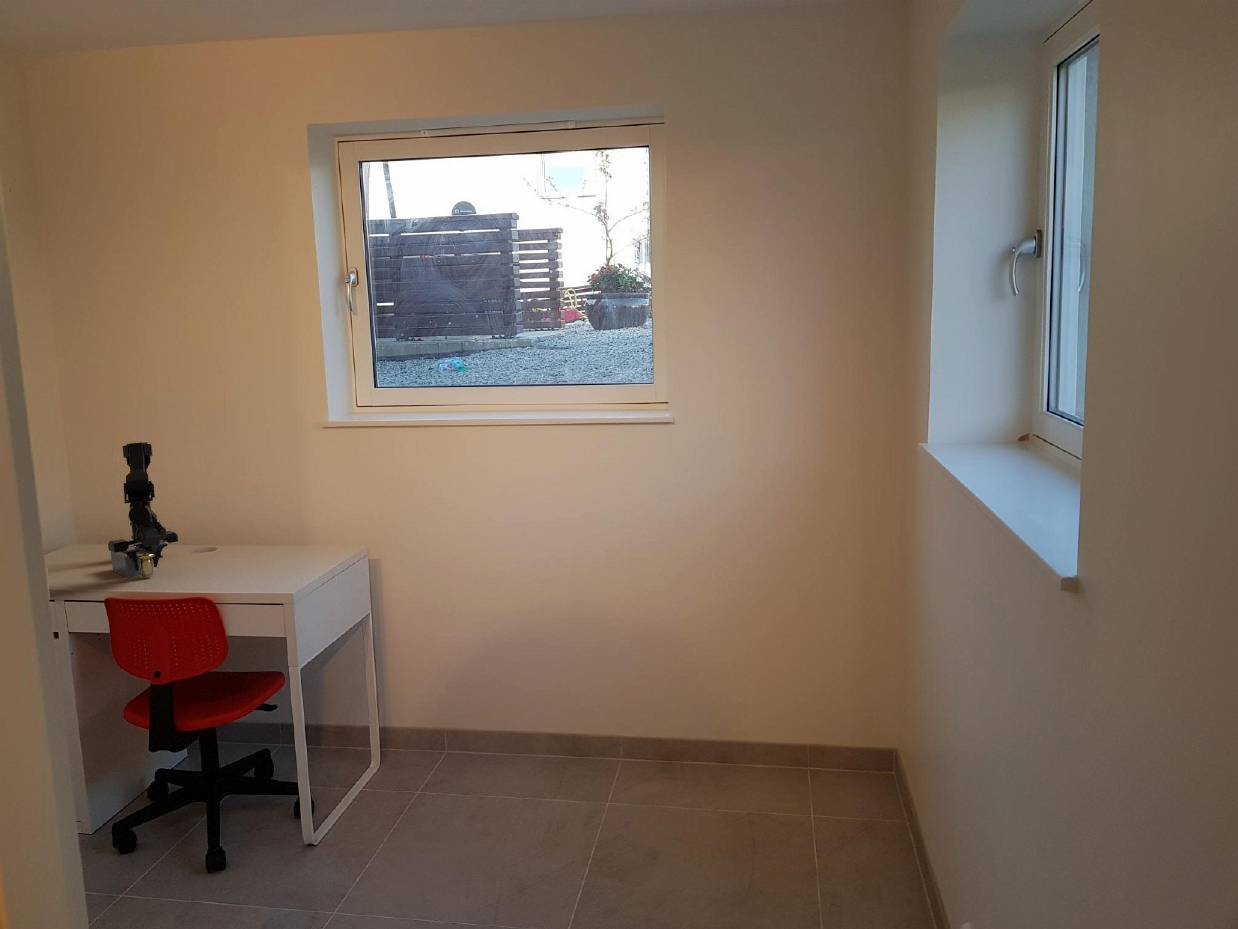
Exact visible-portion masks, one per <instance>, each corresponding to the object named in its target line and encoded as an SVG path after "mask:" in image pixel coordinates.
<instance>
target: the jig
mask: <svg viewBox="0 0 1238 929" xmlns="http://www.w3.org/2000/svg"><path fill="white" fill-rule="evenodd" d="M134 549H135V550H137V554H138V553H142V552H150V551H147V550H145V549H142V548H139V547H136V546H134ZM110 558H111V566H112V572H114V573H116V574H118V575H120V576H122V577H124V578H130V577H136V576H141V567H140V559H137V560H138V565H139V571H136V569H135V567H134V565H133V564H132V562H131V560H130V558H129V557H128V556H127V554H126V553H124V552H117V553H114V552H112V551H110ZM151 560H152V561H153V559H152V557H151ZM152 570H153V571H154V564H153V562H152Z"/></svg>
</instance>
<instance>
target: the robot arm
mask: <svg viewBox="0 0 1238 929" xmlns="http://www.w3.org/2000/svg"><path fill="white" fill-rule="evenodd" d="M122 454H123V458H124V459H125V460H126V465H127V466H128V467H129V473H127V474H126V475H125V482H123V497H124V498H123V499H124V504H129V511H128V516H127V517H128V519H129V521H130V522H129V525H130V526H131V534H132V535H130V536H131V539H130V540H125V539H122V538H119V539H115V540H113V539H112V540H110V541H109V542H108V545H107V546H108V547H107V548H108V551H109V552H111V551H112V552H114V553H117V552H124V553H126V554H127V556H128V557H129V558H130V560H131V562H132V564H133V565H134V567H135V569H136V571H139V565H138V560H137V555H136V554H137V550H135V549H134V547H139V548H142V549H145V550H147V551H150V552H155V556H154V557H152V563H153V568H157V567H158V564H159V560H160V559H161V558H163V557H164V555H162V551H163V549H164V548H165V547H168V545H169V544H171V543H177V542H179V536H178V534H177V533H176V532H174V531H173V530H167V529H166V527H165V526H163V525H162V523H161V522H160V521H158V515H157V514H156V513H155V512H154V511H153V509H152V506H151V502H153V501H154V498H156V496H155V495H156V494H155V485H154V483H153V481H152V480H150V479H149V473H148V469H149V466H150V464H151V460H152V458H151V457H153V447H152V443H148V441H144V442H129V443H126V444H125V445H122ZM167 543H168V544H167Z"/></svg>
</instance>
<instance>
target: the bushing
mask: <svg viewBox="0 0 1238 929" xmlns="http://www.w3.org/2000/svg"><path fill="white" fill-rule="evenodd" d="M136 555H137V559H140V567H141V575H140V576H141V577H142V578H147V577H151V576H153V575H154V569H153V570H152V563H153V559H152V560H151V557H154V556H155V552H142V553H138V554H136Z"/></svg>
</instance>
